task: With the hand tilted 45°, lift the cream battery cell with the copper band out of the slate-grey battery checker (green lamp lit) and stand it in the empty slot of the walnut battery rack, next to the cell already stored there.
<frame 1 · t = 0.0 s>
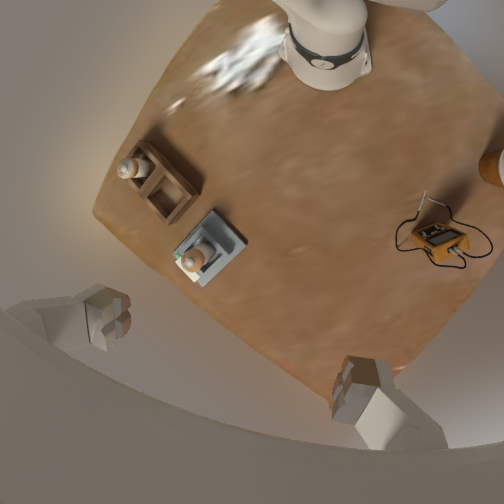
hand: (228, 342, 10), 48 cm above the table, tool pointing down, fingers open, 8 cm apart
disposable coffee cup: (488, 168, 43), on the table
rack: (162, 181, 60), on the table
loaded cell: (147, 167, 59), point 1 cm above the table, touching rack
checker: (208, 249, 61), on the table
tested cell: (206, 250, 60), point 1 cm above the table, touching checker
multimeter: (421, 216, 50), on the table
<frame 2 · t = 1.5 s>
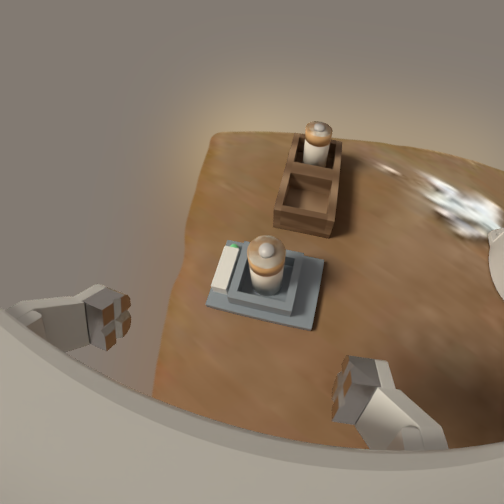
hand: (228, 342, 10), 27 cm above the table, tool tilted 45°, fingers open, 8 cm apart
rack: (309, 189, 46), on the table
loaded cell: (313, 166, 48), point 1 cm above the table, touching rack
checker: (266, 284, 39), on the table
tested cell: (266, 282, 38), point 1 cm above the table, touching checker
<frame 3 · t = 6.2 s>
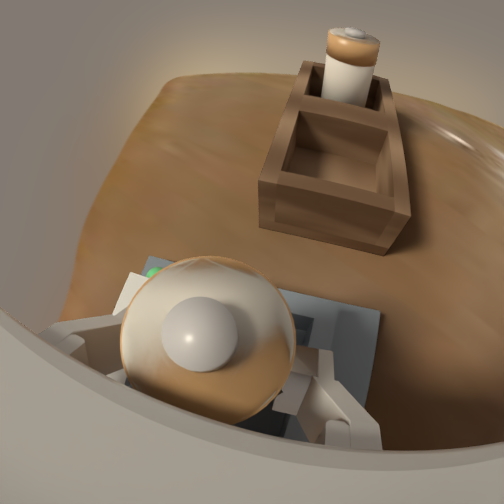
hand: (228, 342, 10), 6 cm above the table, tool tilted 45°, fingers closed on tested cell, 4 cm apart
rack: (335, 154, 22), on the table
loaded cell: (339, 117, 23), point 1 cm above the table, touching rack
checker: (236, 373, 14), on the table
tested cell: (234, 371, 14), point 1 cm above the table, touching checker, gripper
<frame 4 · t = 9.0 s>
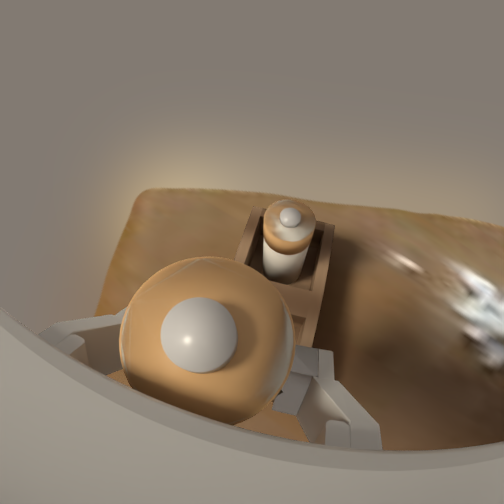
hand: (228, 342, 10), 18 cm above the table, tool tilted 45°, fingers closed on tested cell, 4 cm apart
rack: (270, 310, 28), on the table
loaded cell: (281, 267, 30), point 1 cm above the table, touching rack
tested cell: (234, 372, 14), point 13 cm above the table, touching gripper
when the fingers open (7 cm above the table, at t = 11.7 s): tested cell drops 2 cm, resting on rack.
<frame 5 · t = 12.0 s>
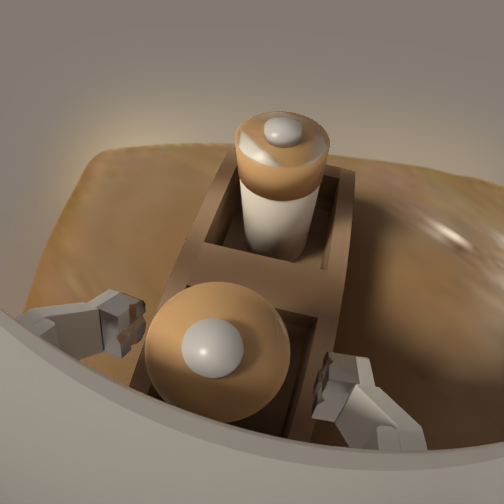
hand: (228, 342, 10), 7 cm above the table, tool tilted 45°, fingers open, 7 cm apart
rack: (258, 306, 18), on the table
loaded cell: (275, 238, 19), point 1 cm above the table, touching rack
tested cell: (237, 374, 15), point 1 cm above the table, touching rack
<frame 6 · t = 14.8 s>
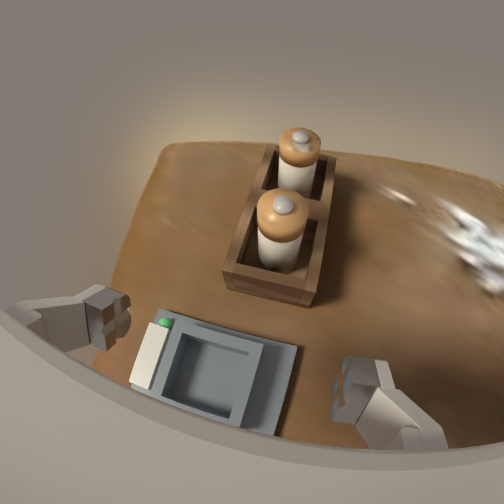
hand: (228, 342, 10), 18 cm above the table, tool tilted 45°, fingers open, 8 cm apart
rack: (285, 228, 33), on the table
loaded cell: (293, 193, 34), point 1 cm above the table, touching rack
checker: (211, 378, 25), on the table
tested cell: (277, 258, 30), point 1 cm above the table, touching rack
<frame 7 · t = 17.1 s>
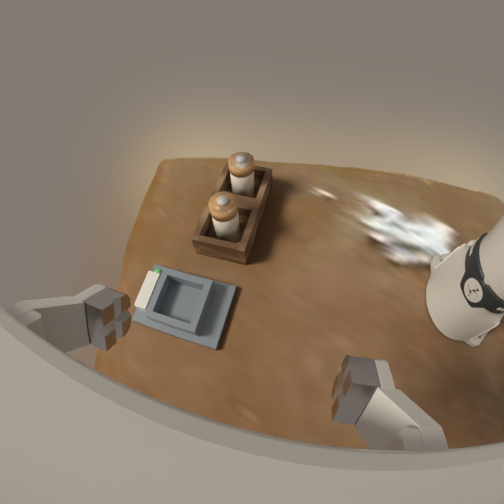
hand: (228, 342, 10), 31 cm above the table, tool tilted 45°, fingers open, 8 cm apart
rack: (236, 216, 51), on the table
loaded cell: (243, 194, 52), point 1 cm above the table, touching rack
checker: (183, 306, 43), on the table
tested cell: (228, 234, 48), point 1 cm above the table, touching rack
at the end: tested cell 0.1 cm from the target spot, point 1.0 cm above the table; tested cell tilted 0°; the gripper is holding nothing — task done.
